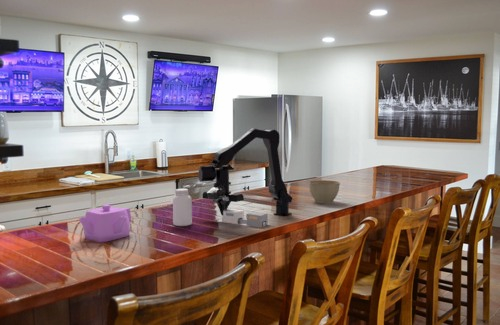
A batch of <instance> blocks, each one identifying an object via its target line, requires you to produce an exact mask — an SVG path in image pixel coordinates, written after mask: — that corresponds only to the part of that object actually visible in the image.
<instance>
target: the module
mask: <svg viewBox="0 0 500 325" xmlns="http://www.w3.org/2000/svg"><path fill="white" fill-rule="evenodd" d="M244 213H245V210H242V209H236V208H227V210H225V211H223V216H222V217H223V221H224V222H223V223H225V222H231V223H230V224H232V223H238V218H242V219H245V214H244Z"/></svg>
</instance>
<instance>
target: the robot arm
mask: <svg viewBox="0 0 500 325" xmlns="http://www.w3.org/2000/svg"><path fill="white" fill-rule="evenodd" d="M280 135H281V134H280V133H279V131H278V130H277V129H265V130H263V129H258V128H250V129H248V131H247V132H245V133H244V134H243V135H241V136H240V137H239V138H238V139H236V140H235V141H234V142H232V144H230V145H228V146H227V147H224V148H222V149H220V150H218V151H217V152H215V153H214V154H213V159H212V161H211V162H210V163H209V165H199V169H198V172H197V178H198V181H199V182H200V183H204V182H213V181H215V182H214V183H213V187H211V188H210V189H209V190H206V191H203V193H202V199H205V200H207V199H208V200H212V202H214V203H216V205H217V207H218V210H219V212H220V214H221V216H222V217H223V211H225V210H228V209H229V206H230V204H231V202H233V203H237V202H242V201H244V200H245V199H244V195H243V194H242V193H238V192H235V193H232V191H230V186H231V185H232V182H231V181H230V171H233V170H234V167H233V166H232V165H231V164H230V163H231V161H232V160H233V159H234V158H235V156H236V154H238V153H239V152H240V151H241V150H243V148H245V147H246V146H248V145H249V144H250V143H251V142H253V140H255V139H262V140H263V145H264V146H265V148H266V151H267V156H268V163H269V164H268V165H269V169H270V177H271V182H270V183H268V184H267V187H268V193H269V194H270V196H271V197H272V198H273V200H274V201H276V202H275V212H273V214H274V215H275V216H280V215H283V216H282V217H286V215H287V216H290V215H292V212H290V206H289V204H290V203H292V202H293V201H292V200H293V197H292V196H291V195H290V194H289V193H288V189H287V186H286V184H285V182H284V180H283V178H282V170H281V163H280V156H279V150H278V149H279V146H280ZM289 214H290V215H289Z"/></svg>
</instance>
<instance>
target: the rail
mask: <svg viewBox="0 0 500 325" xmlns="http://www.w3.org/2000/svg"><path fill="white" fill-rule="evenodd" d="M217 222H219V223H227V224H233V225H239V226H246V227H247V226H248V227H253V228H259V226H252V225H247V218H244V219H242V218H238V223H231V222H224V221H223V216H222V219H220V220H218V221H217ZM268 225H270V223H268V224H267V225H265V222H264V221H263V222H262V226H261V227H260V228H263V227H266V226H268Z"/></svg>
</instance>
